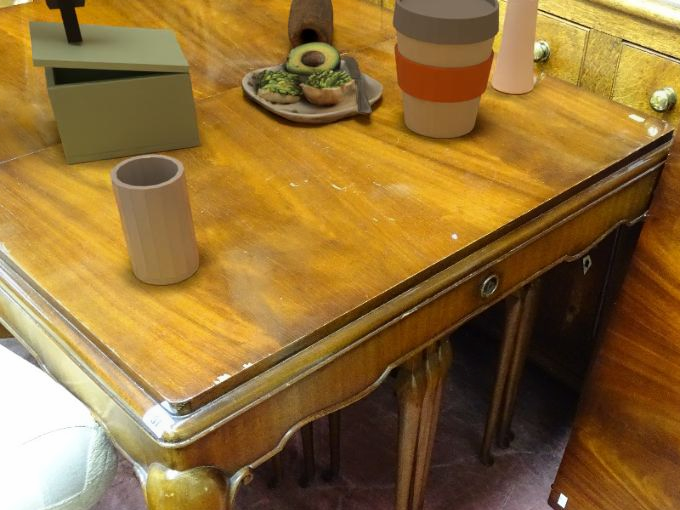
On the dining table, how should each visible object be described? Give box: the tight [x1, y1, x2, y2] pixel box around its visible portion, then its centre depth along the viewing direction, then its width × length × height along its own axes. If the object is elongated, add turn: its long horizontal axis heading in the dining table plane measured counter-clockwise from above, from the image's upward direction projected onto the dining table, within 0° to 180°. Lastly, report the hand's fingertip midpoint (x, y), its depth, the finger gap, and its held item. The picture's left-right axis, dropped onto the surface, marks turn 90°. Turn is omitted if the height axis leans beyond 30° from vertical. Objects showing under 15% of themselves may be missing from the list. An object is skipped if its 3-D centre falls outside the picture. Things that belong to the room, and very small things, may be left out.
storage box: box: [43, 67, 202, 165], centre depth 89 cm, size 15×12×9 cm
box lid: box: [28, 20, 190, 73], centre depth 85 cm, size 15×12×1 cm
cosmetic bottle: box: [490, 0, 539, 95], centre depth 102 cm, size 6×6×22 cm
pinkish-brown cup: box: [109, 153, 201, 286], centre depth 69 cm, size 6×6×10 cm
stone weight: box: [287, 0, 334, 49], centre depth 116 cm, size 15×7×7 cm, turn 8°
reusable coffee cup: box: [392, 0, 500, 139], centre depth 94 cm, size 13×13×15 cm
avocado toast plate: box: [241, 42, 384, 125], centre depth 101 cm, size 19×18×5 cm
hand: (74, 37), depth 84 cm, fingers closed
